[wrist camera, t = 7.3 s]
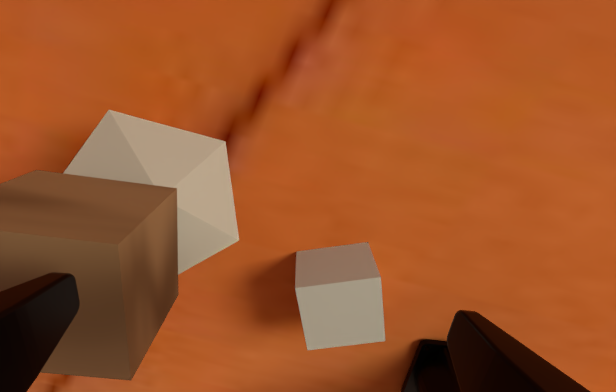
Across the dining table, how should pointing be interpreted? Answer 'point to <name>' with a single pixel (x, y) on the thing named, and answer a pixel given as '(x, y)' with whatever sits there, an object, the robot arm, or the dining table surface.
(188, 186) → the pale faceted polyhedron
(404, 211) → the dining table surface
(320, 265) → the grey block
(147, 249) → the walnut block
